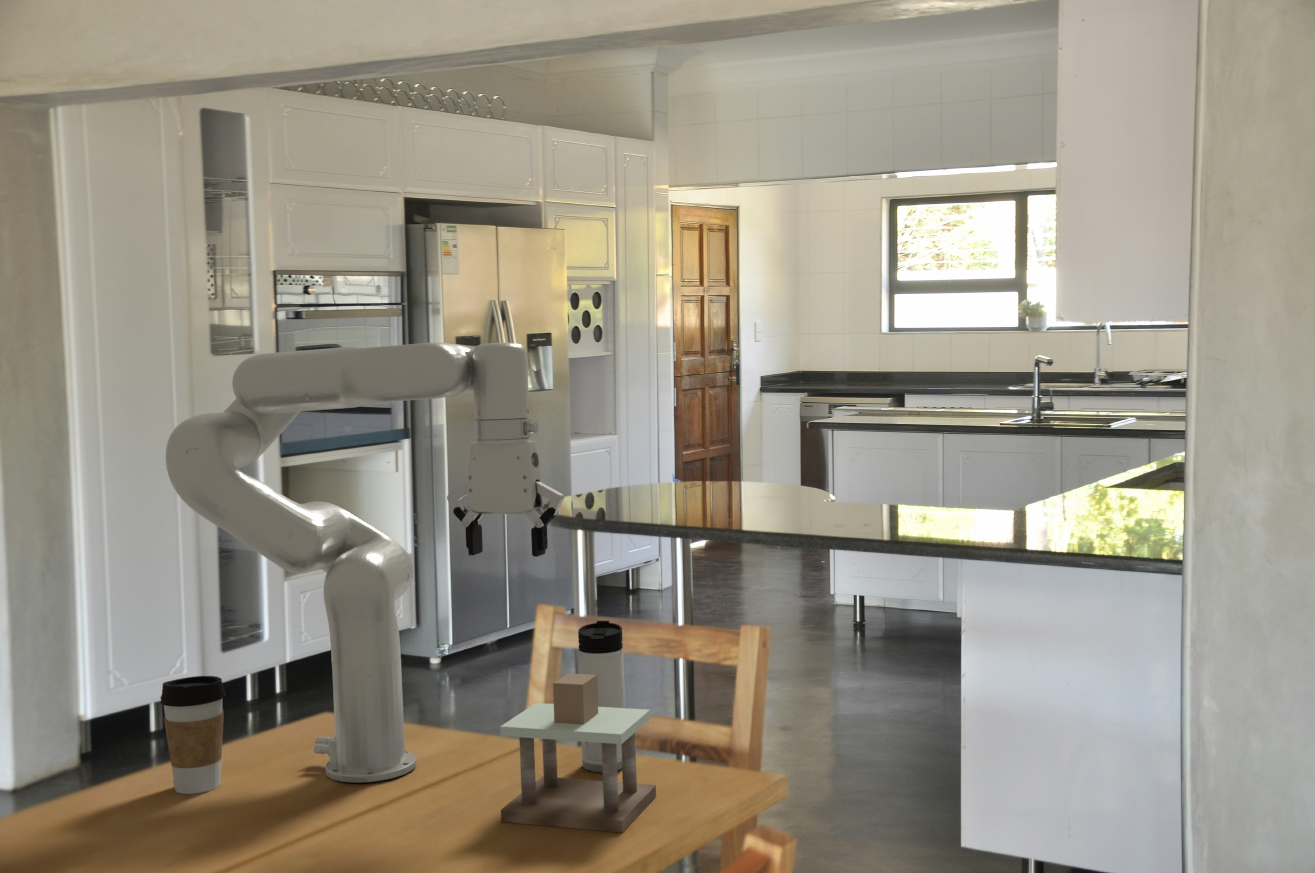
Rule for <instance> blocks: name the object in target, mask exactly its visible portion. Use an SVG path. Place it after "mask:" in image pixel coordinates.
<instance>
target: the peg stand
mask: <svg viewBox="0 0 1315 873" xmlns="http://www.w3.org/2000/svg"><path fill="white" fill-rule="evenodd" d="M518 738H519V758H520V759H519V760H520V761H519V762H520V764H519V765H520V786H521V787H520V789H521V790H520V792H521V793H519V794H518V795H517V796H516V797H515V798H514V799H512V800H511V801H509V802H508V803H507V804H505V806H504V807H502V808H501V809H500V821H501V822H502V823H510V824H511V823H513V824H522V825H534V826H542V827H543V826H544V827H547V826H548V827H555V828H556V827H557V828H565V829H566V828H568V829H576V830H577V829H578V830H590V831H599V832H600V831H601V832H611V833H612V832H613V833H624V832H625V831H626V830H627V829H628V828H629V827H630V826H631V824H632V823H633V822H634V821H635V820H636V819H637V817H639V816H640V814H641V813H642V812H643V811H644V810H645V809H646V808H647V807H648V806H649V805H650V804H651V802H652V801H654V800H655V798H656V797H657V785H656V784H646V783H638V782H637V779H638V777H637V775H638V774H637V755H636V754H637V750H636V732H635V733H634V734H633V735H632V736H630V737H629V738H628V739H627V740H626V741H625V742H624V743H623V744H621V746H622V769H621V771H622V775H621V776H622V782H621V781H620V782H619V781H618V771H617V748H616V744H613V743H602V769H603V773H602V780H595V779H594V780H593V779H583V778H582V779H579V778H571V777H569V778H568V777H558V760H557V759H558V758H557V752H558V751H557V740H554V739H541V740H542V769H543V774H542V776H541V777H540V778H538V779H537V780H536V763H535V761H536V759H535V758H536V757H535V756H536V755H535V738H524V737H518Z"/></svg>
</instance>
